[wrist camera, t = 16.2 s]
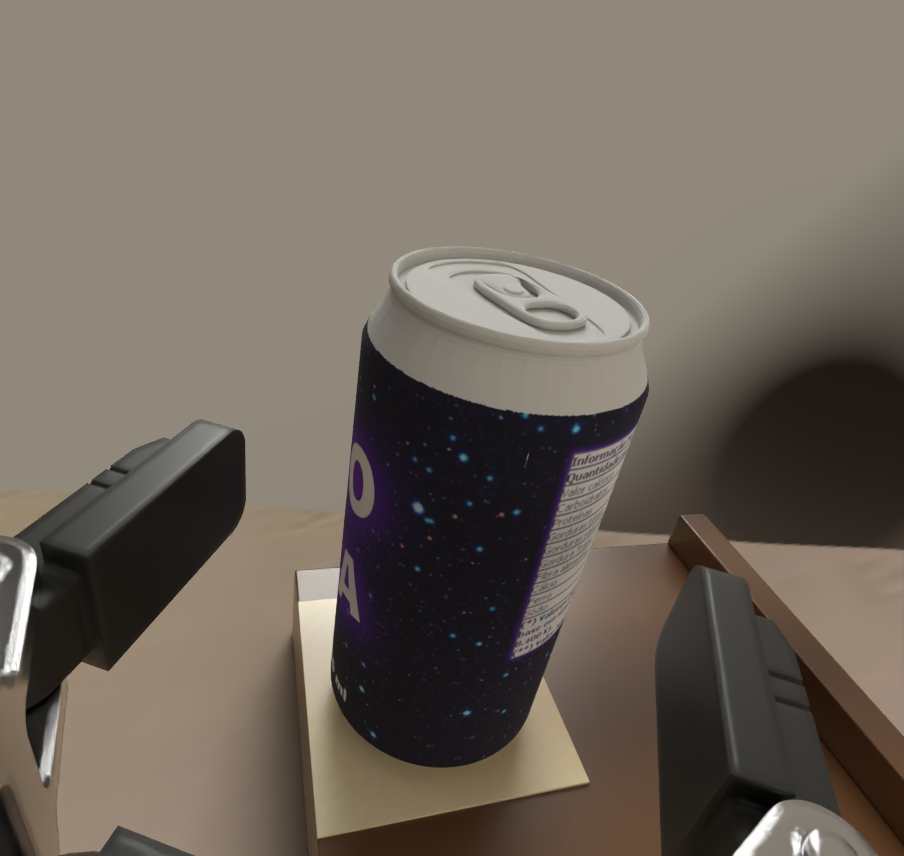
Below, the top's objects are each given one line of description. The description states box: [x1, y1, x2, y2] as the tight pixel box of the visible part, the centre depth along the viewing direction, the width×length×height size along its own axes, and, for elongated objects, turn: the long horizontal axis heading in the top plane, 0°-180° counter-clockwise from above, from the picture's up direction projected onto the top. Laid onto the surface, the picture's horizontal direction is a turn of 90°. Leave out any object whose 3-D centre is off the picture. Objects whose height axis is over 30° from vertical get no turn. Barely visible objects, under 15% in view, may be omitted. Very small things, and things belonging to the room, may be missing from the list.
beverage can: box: [330, 246, 650, 768], centre depth 15 cm, size 6×6×12 cm
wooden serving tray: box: [292, 514, 904, 856], centre depth 19 cm, size 12×16×4 cm
